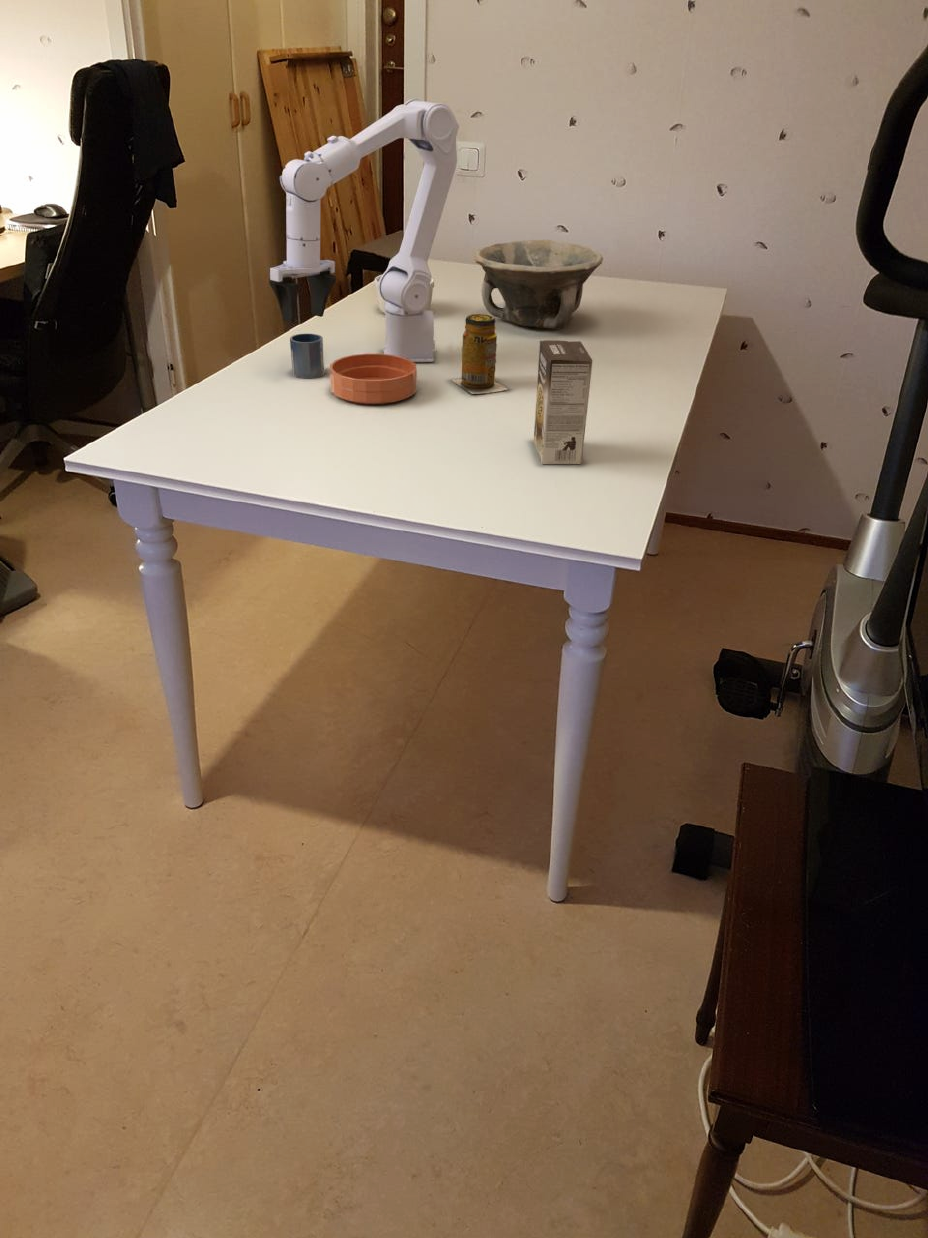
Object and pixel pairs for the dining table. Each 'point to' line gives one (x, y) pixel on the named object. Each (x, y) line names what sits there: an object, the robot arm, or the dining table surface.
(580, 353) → the coffee box
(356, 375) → the clay bowl
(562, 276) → the bowl
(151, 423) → the dining table surface
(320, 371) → the cup
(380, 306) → the ramekin
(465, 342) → the condiment
